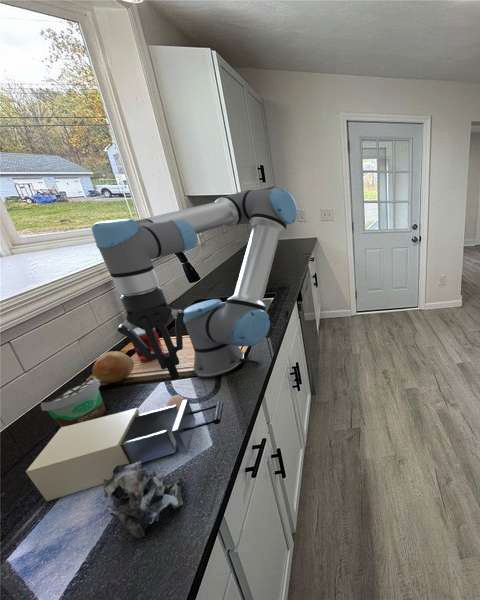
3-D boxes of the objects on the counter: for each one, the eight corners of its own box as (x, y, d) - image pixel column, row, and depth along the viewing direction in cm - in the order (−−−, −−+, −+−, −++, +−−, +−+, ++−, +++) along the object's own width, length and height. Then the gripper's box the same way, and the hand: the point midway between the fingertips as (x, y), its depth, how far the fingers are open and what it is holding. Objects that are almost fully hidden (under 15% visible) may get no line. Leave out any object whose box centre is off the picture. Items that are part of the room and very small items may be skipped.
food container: (74, 437, 81) (56, 406, 77) (56, 434, 82) (37, 404, 78) (122, 404, 92) (108, 376, 88) (106, 402, 93) (91, 374, 89)
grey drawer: (228, 410, 85) (221, 390, 83) (224, 440, 76) (216, 418, 73) (134, 437, 78) (123, 416, 76) (116, 474, 68) (103, 451, 66)
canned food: (162, 348, 122) (152, 323, 118) (166, 355, 117) (156, 329, 113) (138, 356, 117) (126, 330, 113) (141, 364, 112) (129, 337, 108)
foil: (87, 557, 51) (90, 464, 58) (122, 554, 59) (121, 473, 67) (171, 519, 55) (164, 437, 63) (192, 521, 64) (184, 448, 71)
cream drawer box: (149, 434, 80) (137, 407, 77) (132, 474, 69) (117, 445, 66) (77, 455, 75) (60, 427, 72) (46, 501, 64) (25, 471, 61)
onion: (97, 381, 104) (84, 355, 100) (134, 367, 110) (123, 342, 107) (102, 392, 98) (88, 365, 94) (141, 377, 104) (129, 351, 101)
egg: (181, 419, 84) (174, 402, 82) (166, 418, 85) (159, 401, 83) (193, 407, 89) (187, 391, 86) (179, 407, 89) (172, 391, 87)
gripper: (173, 279, 77) (202, 360, 86) (104, 293, 70) (143, 380, 79) (175, 287, 71) (206, 373, 80) (100, 303, 64) (143, 395, 73)
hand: (175, 376), depth 79 cm, fingers closed
